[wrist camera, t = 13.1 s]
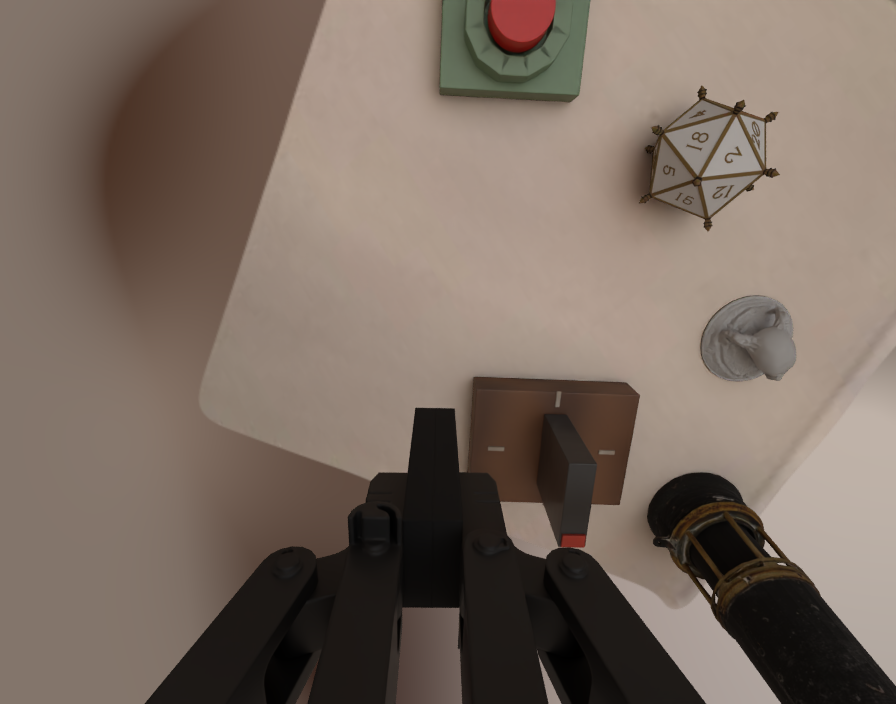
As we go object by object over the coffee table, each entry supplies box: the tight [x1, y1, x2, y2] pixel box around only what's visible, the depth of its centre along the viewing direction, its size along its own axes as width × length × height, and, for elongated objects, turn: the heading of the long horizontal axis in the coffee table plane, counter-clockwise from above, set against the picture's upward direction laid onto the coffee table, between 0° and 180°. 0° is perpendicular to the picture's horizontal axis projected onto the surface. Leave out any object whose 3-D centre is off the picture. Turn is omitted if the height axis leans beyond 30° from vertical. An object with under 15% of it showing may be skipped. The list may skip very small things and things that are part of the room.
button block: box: [439, 0, 590, 102], centre depth 31 cm, size 10×8×4 cm
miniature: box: [701, 296, 796, 381], centre depth 38 cm, size 8×8×5 cm
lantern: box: [647, 473, 896, 704], centre depth 32 cm, size 9×9×30 cm
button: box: [488, 0, 556, 53], centre depth 29 cm, size 4×4×2 cm
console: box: [467, 377, 640, 505], centre depth 42 cm, size 14×11×3 cm
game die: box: [639, 86, 780, 231], centre depth 32 cm, size 9×8×10 cm
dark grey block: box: [537, 414, 597, 547], centre depth 36 cm, size 7×2×8 cm, turn 178°
